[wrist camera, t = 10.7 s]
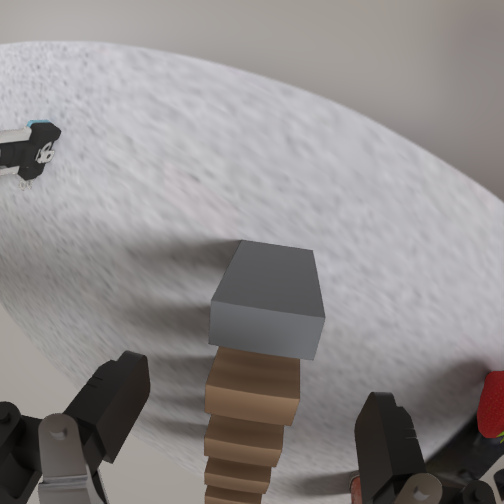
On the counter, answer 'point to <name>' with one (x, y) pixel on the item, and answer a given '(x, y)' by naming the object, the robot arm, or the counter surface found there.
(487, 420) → the strawberry
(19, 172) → the push button
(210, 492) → the walnut tile
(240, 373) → the walnut tile
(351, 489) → the lighter
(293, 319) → the charcoal tile
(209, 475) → the walnut tile
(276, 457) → the walnut tile
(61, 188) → the counter surface
